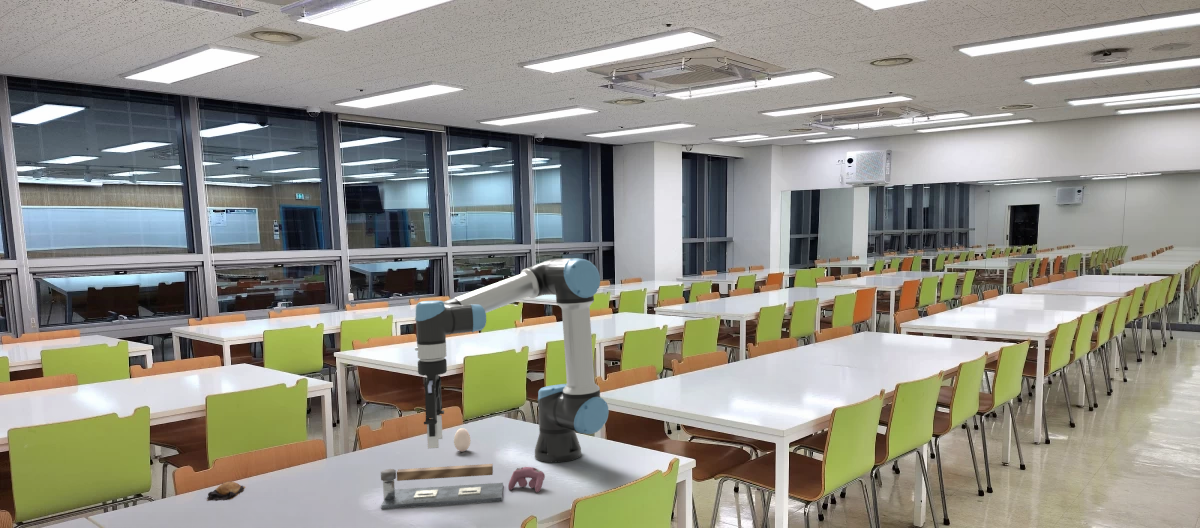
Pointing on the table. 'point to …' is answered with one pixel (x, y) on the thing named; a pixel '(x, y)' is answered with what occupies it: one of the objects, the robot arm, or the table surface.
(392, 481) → the board
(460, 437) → the egg
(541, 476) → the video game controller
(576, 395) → the robot arm
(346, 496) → the table surface
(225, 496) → the toy turtle
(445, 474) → the swing bar
